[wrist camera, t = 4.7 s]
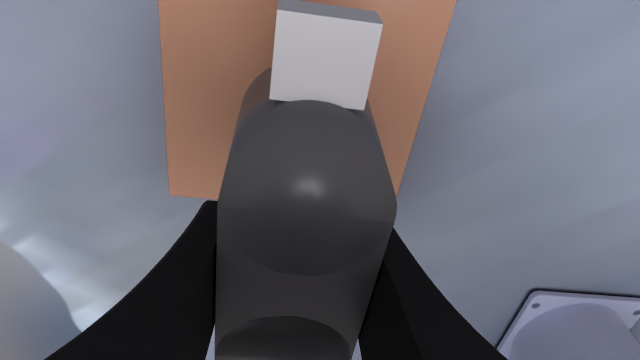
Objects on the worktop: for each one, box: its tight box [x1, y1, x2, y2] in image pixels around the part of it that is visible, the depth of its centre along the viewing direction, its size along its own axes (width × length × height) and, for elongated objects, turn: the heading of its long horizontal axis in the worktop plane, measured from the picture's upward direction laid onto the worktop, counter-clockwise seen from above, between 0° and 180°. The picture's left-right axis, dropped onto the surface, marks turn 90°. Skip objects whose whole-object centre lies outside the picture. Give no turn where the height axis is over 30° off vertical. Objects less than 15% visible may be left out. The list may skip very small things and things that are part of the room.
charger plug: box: [215, 0, 397, 360], centre depth 12 cm, size 10×4×4 cm, turn 172°
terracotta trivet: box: [158, 0, 457, 199], centre depth 20 cm, size 11×11×1 cm
